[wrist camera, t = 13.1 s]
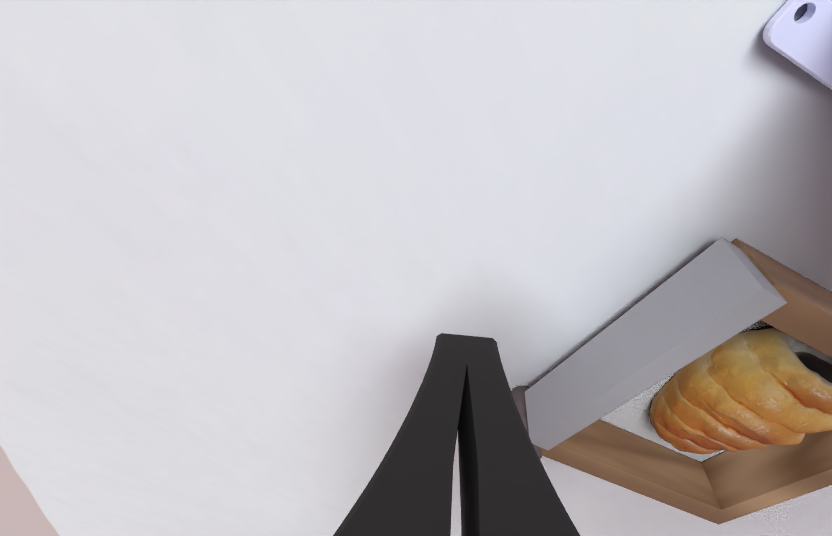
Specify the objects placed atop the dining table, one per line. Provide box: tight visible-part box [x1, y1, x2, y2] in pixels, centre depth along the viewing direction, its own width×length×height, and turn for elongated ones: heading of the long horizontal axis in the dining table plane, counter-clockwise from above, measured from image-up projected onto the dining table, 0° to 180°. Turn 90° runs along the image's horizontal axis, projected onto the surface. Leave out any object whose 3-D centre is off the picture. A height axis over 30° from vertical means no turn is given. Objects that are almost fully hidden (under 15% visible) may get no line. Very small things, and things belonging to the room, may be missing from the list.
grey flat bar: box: [525, 237, 787, 450], centre depth 20 cm, size 13×1×3 cm, turn 152°
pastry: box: [650, 328, 832, 454], centre depth 22 cm, size 9×7×4 cm
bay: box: [511, 239, 832, 524], centre depth 22 cm, size 15×16×4 cm
